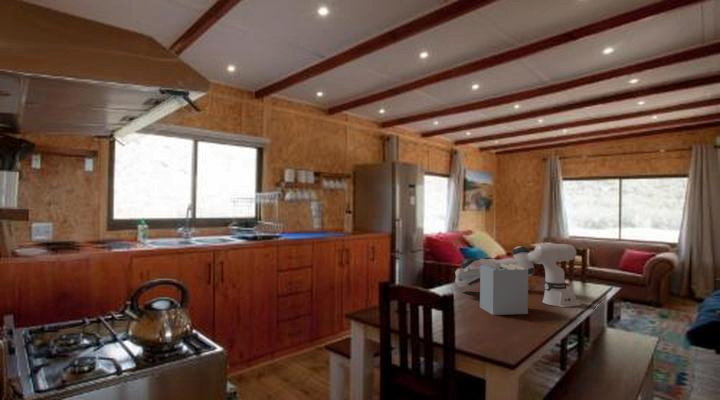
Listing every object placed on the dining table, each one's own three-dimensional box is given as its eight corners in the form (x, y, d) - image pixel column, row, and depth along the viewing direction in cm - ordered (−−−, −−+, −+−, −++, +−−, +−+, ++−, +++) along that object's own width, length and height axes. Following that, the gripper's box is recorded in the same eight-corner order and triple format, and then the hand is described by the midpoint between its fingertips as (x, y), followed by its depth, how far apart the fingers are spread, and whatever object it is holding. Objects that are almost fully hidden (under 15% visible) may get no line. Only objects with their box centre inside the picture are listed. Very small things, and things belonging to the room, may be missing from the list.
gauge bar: (484, 263, 242) (484, 258, 242) (500, 268, 222) (500, 263, 222) (479, 263, 241) (479, 258, 241) (495, 268, 222) (495, 263, 222)
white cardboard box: (512, 306, 236) (513, 263, 236) (527, 313, 220) (528, 268, 221) (479, 307, 233) (480, 264, 233) (492, 315, 217) (493, 268, 217)
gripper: (482, 279, 262) (491, 272, 250) (454, 280, 259) (462, 273, 247) (480, 270, 265) (488, 263, 254) (453, 271, 262) (460, 264, 250)
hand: (475, 268), depth 250 cm, fingers open, 8 cm apart
